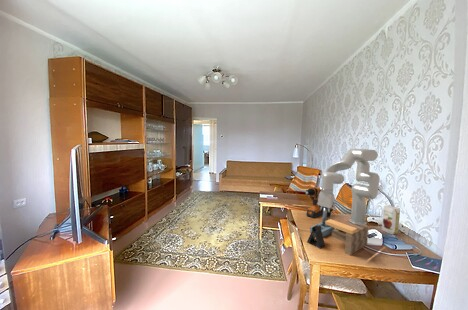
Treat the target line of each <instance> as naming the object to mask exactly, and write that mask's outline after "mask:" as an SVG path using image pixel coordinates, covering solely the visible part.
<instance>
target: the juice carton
mask: <svg viewBox="0 0 468 310" xmlns="http://www.w3.org/2000/svg"><path fill="white" fill-rule="evenodd" d="M400 215H401V208H400V207H397V206H393V205H390V204H388V205H387V204H386V205H384V206H383V210H382V222H381V231H383V232H385V233H388V234H390V235H396V234H398V232H399V227H400Z"/></svg>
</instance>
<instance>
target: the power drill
mask: <svg viewBox="0 0 468 310" xmlns="http://www.w3.org/2000/svg"><path fill="white" fill-rule="evenodd" d="M320 188H321V187H319V186H317V187H311V188H309V189H307V190H305V192H304V194H305V195H306V196H310V198H311V200H312V206H311V207H309V208H307V210H306V216H307V217H310V218H313V219H316V218H318V217H319V216H322V215H321V209H320V207H319V206H318V205H317V203H318V199H319V194H320V192H321V190H320Z"/></svg>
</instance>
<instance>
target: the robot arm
mask: <svg viewBox="0 0 468 310" xmlns="http://www.w3.org/2000/svg"><path fill="white" fill-rule="evenodd" d="M378 156H379V155H378V151H376V150H375V149H368V148H367V149H366V148H365V149H364V148H349V149H347V151H346V153H345V154H344V155H343V156H342V158H341V159H340V160H339V161H337V162H335V163H334V164H331V165H330V166H328V167H327V168H326V170H325V171H324V173H323V174H322V175H321V187H319V188H320V190H321V192H320V193H319V195H318V203H317V205H318V206H319V207H320V209H321V210H320V211H321V215H320V216H322V215H323V207H326V208H328V212H327V217H329V218H330V217H332V212H333V211H335V210H337V208H336V206H335V194H334V185H335V184H336V185H340V184H342V183H344V181H345V177H344V175H343V174H341V173H338V172H340V171H341V172H342V171H346V170H349V169H351V168H352V167H353V165H354V164H355V163H356V173H355V180H356V182H358V183H354V184H353V185H352V186H351V195H352V196H351V199H352V200H351V212H350V217H349V218H348V221H349V222H350V223H351V224H353V225H357V226H361V225H362V224H364V225H367V226H368V222H367V221H366V210H367V209H366V208H367V206H366V205H367V201H366V199H369V200H374V199H376V198H377V197H378V194H379V193H378V191H379V185H380V175H379V173H376V172H372V171H370V168H371V166H370V163H369V162H375V160H377V159H378Z"/></svg>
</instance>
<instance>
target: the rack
mask: <svg viewBox="0 0 468 310" xmlns="http://www.w3.org/2000/svg"><path fill="white" fill-rule="evenodd" d="M316 225H318V226H319V225H320V226H321V232H322V235H323V238H324V237H327V236H329V235H332V230H334V229H336V228H334V227H331V226H329V225H325V224H322V221H321V222H318V223H316V224H314V225H312V226H310V227H309V233H310V234H311V232H312V227H314V226H316Z"/></svg>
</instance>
